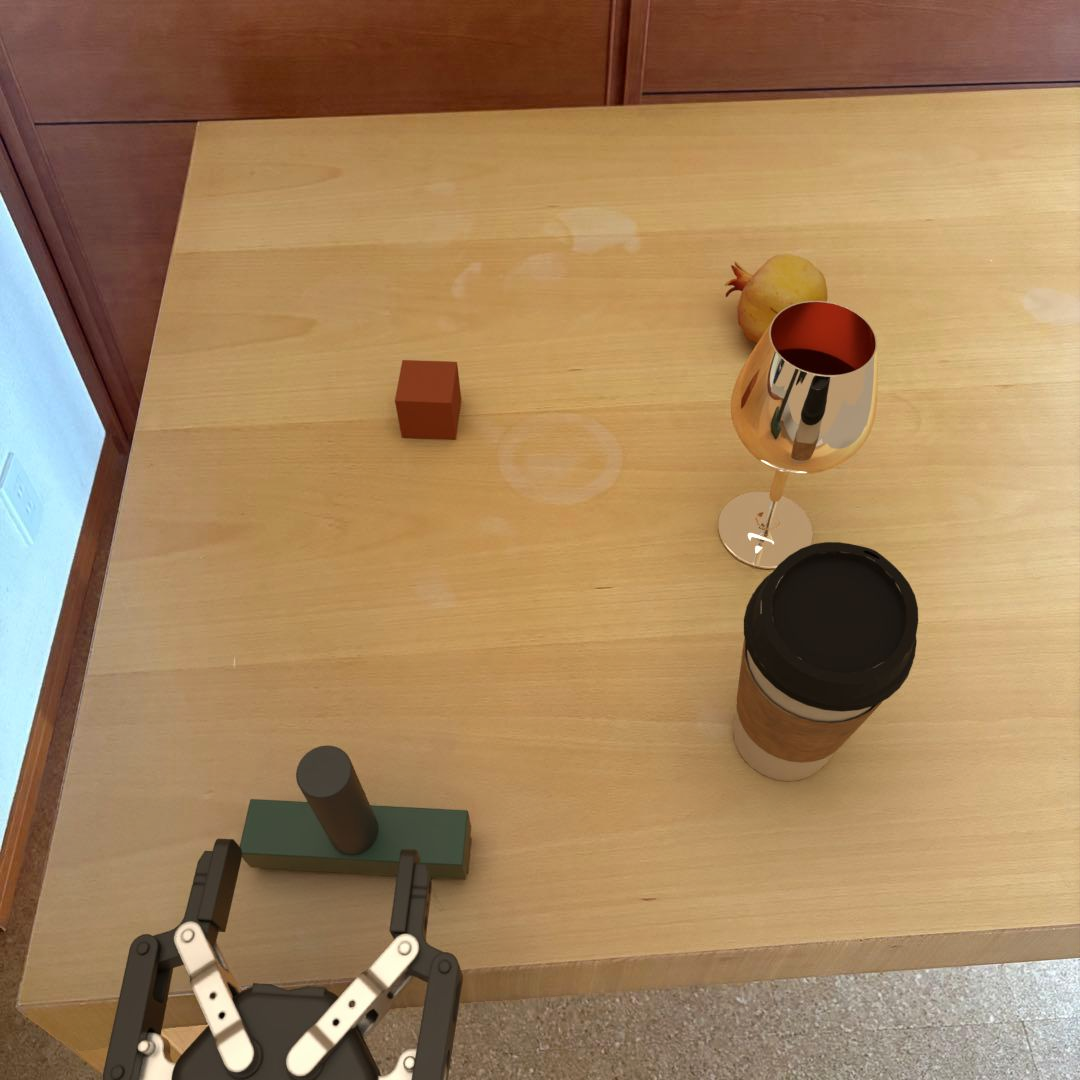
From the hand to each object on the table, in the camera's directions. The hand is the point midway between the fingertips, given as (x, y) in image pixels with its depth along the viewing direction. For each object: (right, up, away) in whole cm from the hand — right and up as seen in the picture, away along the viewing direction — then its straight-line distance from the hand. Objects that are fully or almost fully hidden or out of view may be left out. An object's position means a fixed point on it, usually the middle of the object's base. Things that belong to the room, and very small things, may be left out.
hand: (319, 848), depth 47 cm
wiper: (0, -3, +10) cm, 10 cm away
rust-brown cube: (+2, +23, +28) cm, 37 cm away
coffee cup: (+25, +3, +14) cm, 28 cm away
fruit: (+29, +31, +33) cm, 53 cm away
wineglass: (+26, +15, +22) cm, 37 cm away
